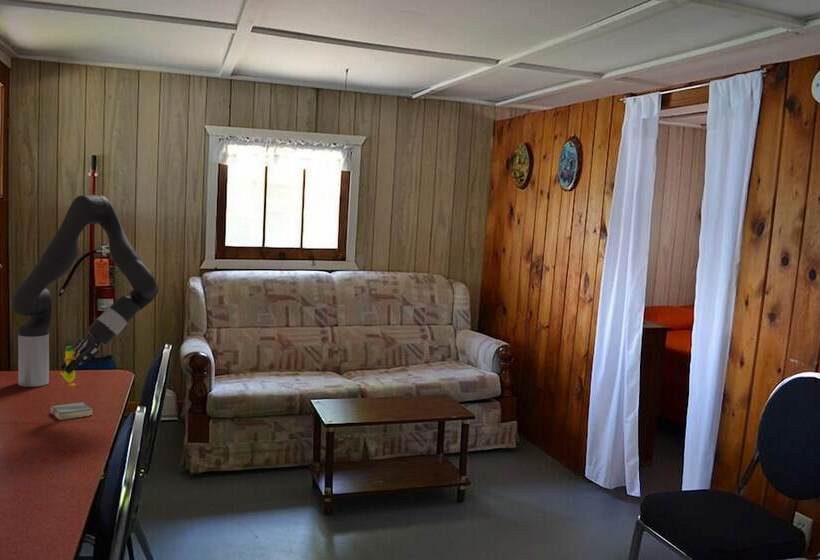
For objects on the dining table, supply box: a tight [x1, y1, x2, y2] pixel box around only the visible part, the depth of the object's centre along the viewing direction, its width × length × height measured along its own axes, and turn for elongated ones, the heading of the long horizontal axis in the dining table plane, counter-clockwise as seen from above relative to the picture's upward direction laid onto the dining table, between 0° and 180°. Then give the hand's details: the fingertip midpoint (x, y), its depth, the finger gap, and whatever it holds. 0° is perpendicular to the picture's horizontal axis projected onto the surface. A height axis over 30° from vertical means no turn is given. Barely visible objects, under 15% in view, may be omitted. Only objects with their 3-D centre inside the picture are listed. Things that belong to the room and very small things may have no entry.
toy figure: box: [59, 345, 83, 388], centre depth 208 cm, size 7×4×12 cm, turn 110°
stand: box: [50, 401, 93, 421], centre depth 209 cm, size 9×9×2 cm
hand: (64, 370), depth 207 cm, fingers closed on toy figure, 3 cm apart
